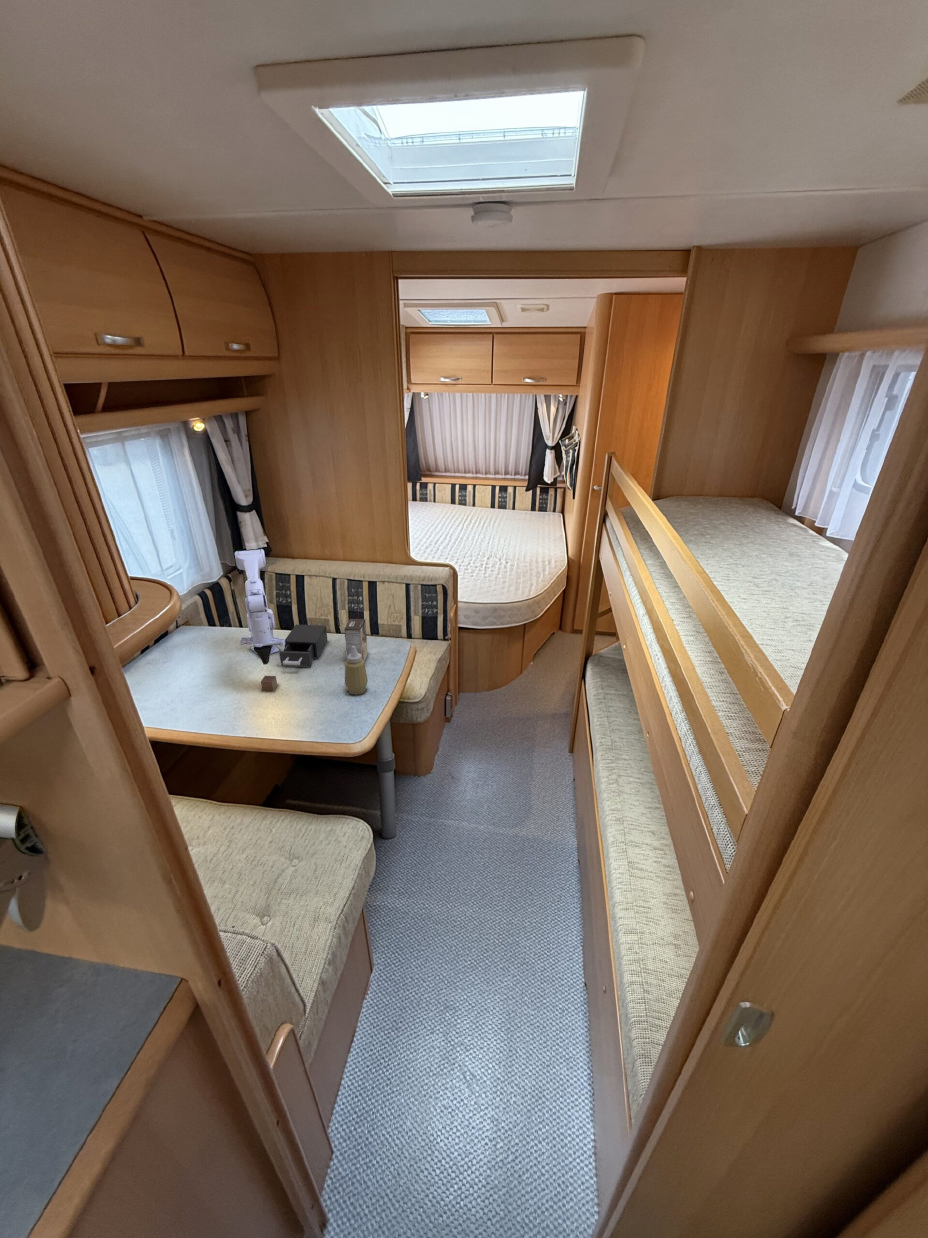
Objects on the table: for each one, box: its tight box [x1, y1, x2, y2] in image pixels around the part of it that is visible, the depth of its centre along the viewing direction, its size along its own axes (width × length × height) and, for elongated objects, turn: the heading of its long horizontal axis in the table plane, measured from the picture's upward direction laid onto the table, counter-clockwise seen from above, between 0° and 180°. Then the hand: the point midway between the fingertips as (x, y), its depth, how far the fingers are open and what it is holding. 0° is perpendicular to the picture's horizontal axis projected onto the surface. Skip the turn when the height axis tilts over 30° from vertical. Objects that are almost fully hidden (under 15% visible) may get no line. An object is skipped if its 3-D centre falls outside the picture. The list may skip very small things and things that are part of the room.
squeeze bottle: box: [344, 646, 369, 696], centre depth 173 cm, size 8×8×18 cm
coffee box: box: [344, 618, 369, 663], centre depth 192 cm, size 9×6×16 cm
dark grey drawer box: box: [284, 624, 329, 660], centre depth 200 cm, size 15×13×8 cm
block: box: [260, 675, 278, 692], centre depth 175 cm, size 4×4×4 cm
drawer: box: [278, 643, 315, 668], centre depth 191 cm, size 18×11×6 cm, turn 179°
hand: (266, 662), depth 172 cm, fingers closed
